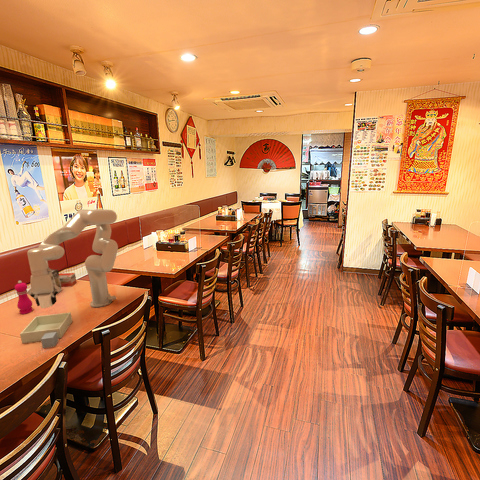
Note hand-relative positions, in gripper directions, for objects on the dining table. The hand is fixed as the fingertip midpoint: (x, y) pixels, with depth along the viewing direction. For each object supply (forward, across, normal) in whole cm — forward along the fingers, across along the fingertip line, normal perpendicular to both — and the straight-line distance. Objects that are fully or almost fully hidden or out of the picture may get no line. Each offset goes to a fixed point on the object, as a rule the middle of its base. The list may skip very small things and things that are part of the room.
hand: (46, 303), depth 149 cm
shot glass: (+1, 0, 0) cm, 1 cm away
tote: (+14, 0, +4) cm, 15 cm away
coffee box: (+14, +16, -50) cm, 54 cm away
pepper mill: (+14, +22, -25) cm, 37 cm away
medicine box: (+15, +15, -65) cm, 68 cm away
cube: (+14, -6, +17) cm, 23 cm away
